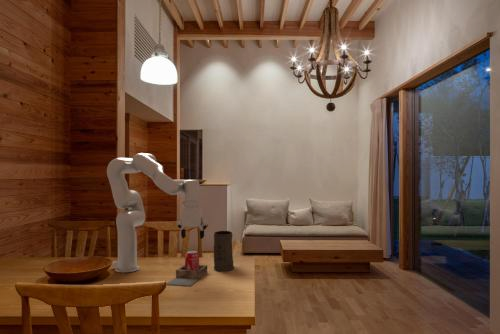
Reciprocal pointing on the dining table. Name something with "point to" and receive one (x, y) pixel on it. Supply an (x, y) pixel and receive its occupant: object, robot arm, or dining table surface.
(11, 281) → the dining table surface
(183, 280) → the mat
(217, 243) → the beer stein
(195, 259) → the soda can
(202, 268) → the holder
